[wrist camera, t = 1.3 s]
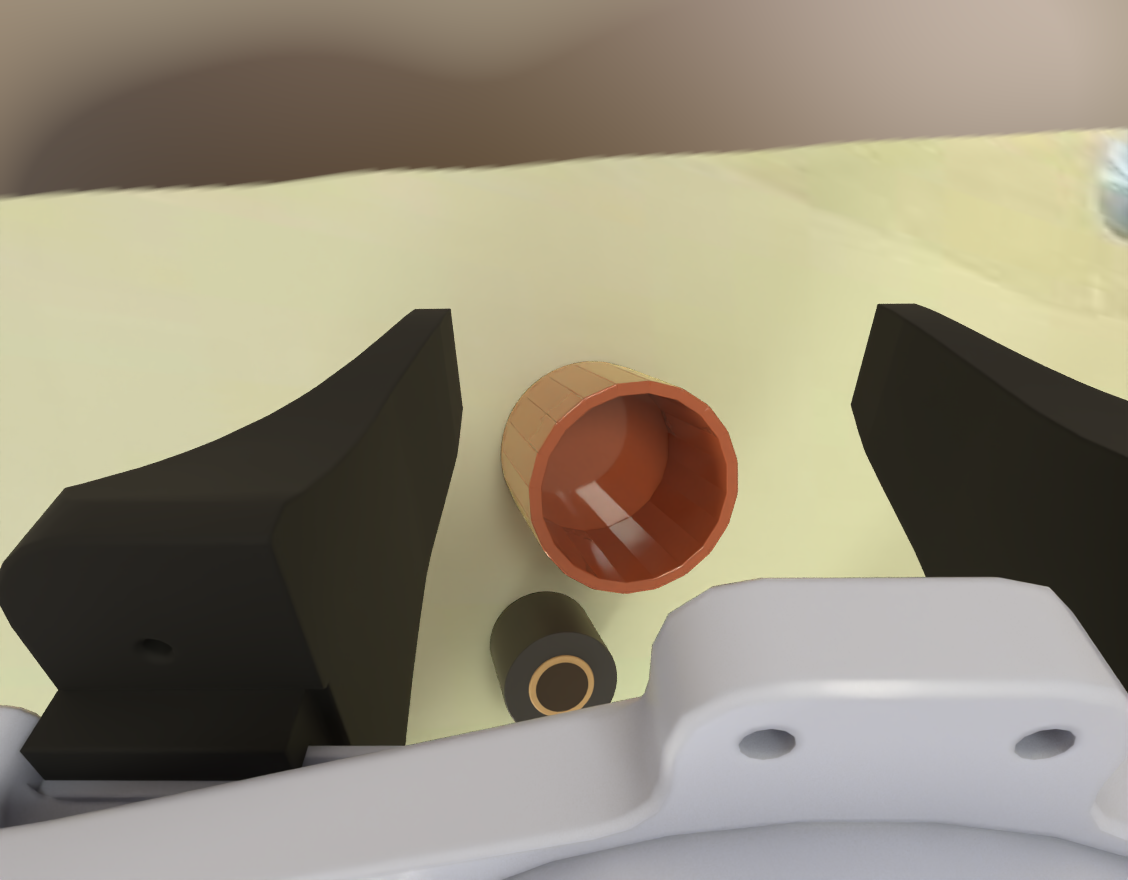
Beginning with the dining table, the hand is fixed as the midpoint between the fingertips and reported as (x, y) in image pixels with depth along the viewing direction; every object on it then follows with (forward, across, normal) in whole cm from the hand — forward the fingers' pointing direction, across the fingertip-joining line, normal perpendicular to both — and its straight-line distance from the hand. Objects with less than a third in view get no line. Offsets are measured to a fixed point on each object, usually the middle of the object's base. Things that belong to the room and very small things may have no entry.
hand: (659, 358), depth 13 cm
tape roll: (+12, +3, +24) cm, 27 cm away
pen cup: (+17, +1, +15) cm, 23 cm away
